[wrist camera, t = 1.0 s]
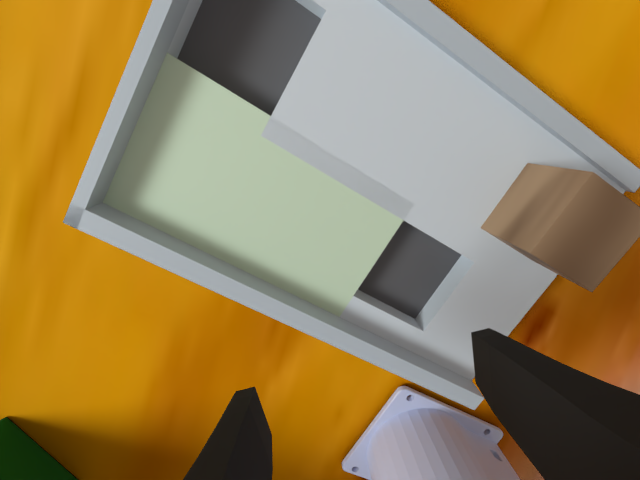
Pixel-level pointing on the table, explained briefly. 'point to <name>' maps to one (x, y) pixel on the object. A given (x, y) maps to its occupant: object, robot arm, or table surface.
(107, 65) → the table surface
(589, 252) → the walnut block
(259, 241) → the tray
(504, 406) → the robot arm
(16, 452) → the milk carton
